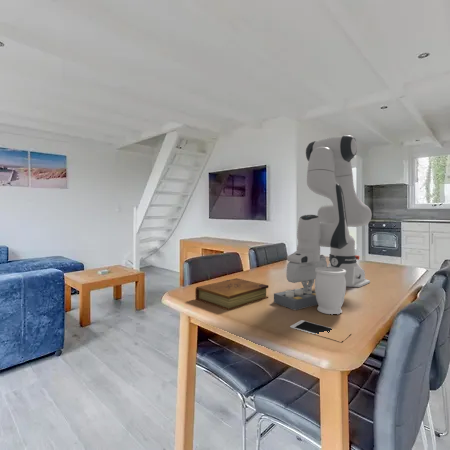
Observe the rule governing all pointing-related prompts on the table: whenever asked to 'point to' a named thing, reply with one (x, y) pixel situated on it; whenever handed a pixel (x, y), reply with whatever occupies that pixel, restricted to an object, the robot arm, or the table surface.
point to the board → (296, 300)
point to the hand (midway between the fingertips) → (307, 291)
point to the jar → (330, 289)
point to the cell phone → (310, 327)
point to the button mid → (299, 292)
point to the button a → (289, 294)
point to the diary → (231, 293)
